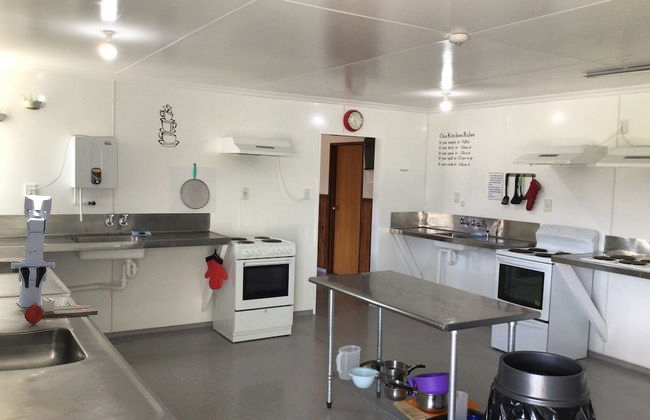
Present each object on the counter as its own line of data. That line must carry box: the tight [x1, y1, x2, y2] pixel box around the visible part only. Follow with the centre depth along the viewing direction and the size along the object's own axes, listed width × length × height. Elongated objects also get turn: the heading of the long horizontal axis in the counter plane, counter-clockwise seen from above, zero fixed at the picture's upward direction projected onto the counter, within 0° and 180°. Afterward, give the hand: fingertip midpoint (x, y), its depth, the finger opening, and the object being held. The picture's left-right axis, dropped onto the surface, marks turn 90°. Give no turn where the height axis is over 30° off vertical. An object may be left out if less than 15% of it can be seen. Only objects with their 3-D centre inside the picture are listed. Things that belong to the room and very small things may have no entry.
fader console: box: [40, 304, 99, 320], centre depth 214 cm, size 12×21×2 cm, turn 130°
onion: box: [23, 302, 43, 326], centre depth 194 cm, size 6×6×8 cm
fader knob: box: [41, 297, 55, 312], centre depth 210 cm, size 5×3×4 cm, turn 40°
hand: (31, 287), depth 206 cm, fingers open, 3 cm apart
